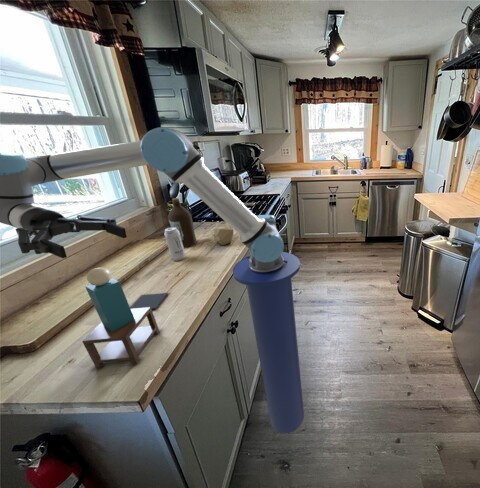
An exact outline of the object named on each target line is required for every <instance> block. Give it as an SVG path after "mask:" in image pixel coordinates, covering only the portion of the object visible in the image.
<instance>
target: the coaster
mask: <svg viewBox="0 0 480 488" xmlns="http://www.w3.org/2000/svg"><path fill="white" fill-rule="evenodd" d="M168 295H169V294H168V292H164V293H151V294H141V295H140V296H139V297H138V298H137V300H136V301H134V303H132V305H131V306H129V307H130V309H133V308H145V307H151V309H152V311H155V310H157V309H158V308H159V306H160V305H161V304H162V302H164V300H165V299H166V298H167V296H168Z"/></svg>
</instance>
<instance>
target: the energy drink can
mask: <svg viewBox="0 0 480 488" xmlns="http://www.w3.org/2000/svg"><path fill="white" fill-rule="evenodd" d="M163 234H164V238H165V241H166V245H167V248H168V251H169V255H170V258H171V259H172V260H173V261H175V262H177V261H178V262H179V261H182V260H184V259H185V257H186V251H185V247H183V244H182V240H181V237H180V233H179V231H178V230H177V228H176V227H171V226H170V227H167V228H165V229H164V233H163Z"/></svg>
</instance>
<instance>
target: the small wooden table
mask: <svg viewBox="0 0 480 488" xmlns="http://www.w3.org/2000/svg"><path fill="white" fill-rule="evenodd" d="M131 311H132V314H133V316H134V319H135V320H134V321H132V322H130V323H128V324H126V325H124V326H123V327H121V328H119V329H117V330H115V331H113V332H112V331H111V330H109V329H108V328H107V327H105V326H104V325H103V324H102V321H101V322H100V323H99V324H98V325H97V326H96V327H95V328H94V329H93V330H92V331H91V332H90V333H89V334H88V335H86V337H85V338H84V339H82V344H83V346H84V348H85V350H86V351H87V353H88V356H89V358H90V359H91V361H92V364H93V366H94V367H95V368H96V369H101V368H102V367H103V366H104V365H105V363H111V362H113V363H114V362H121V361H130V362H131V364H132V365H137V364H139V362H140V361H141V359H140V357H139V355H140V354H141V352H142V351H143V349H144V348H145V346H146V345H147V343H148V342H149V341H150V340H151V338H152V336H153V335H158V334H159V333H160V329H159V326H158V323H157V320H156V317H155V315H154V312H153V310H152V309H151V307H145V308H133V309H131ZM144 319H147V322H148V324H149V325H145V326H140V325H141V324H142V322H143V321H144ZM98 343H107V345H106V346H104V348H102V350H101V351H100V352H99V350H98V349H97V347H96V345H95V344H98Z"/></svg>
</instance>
